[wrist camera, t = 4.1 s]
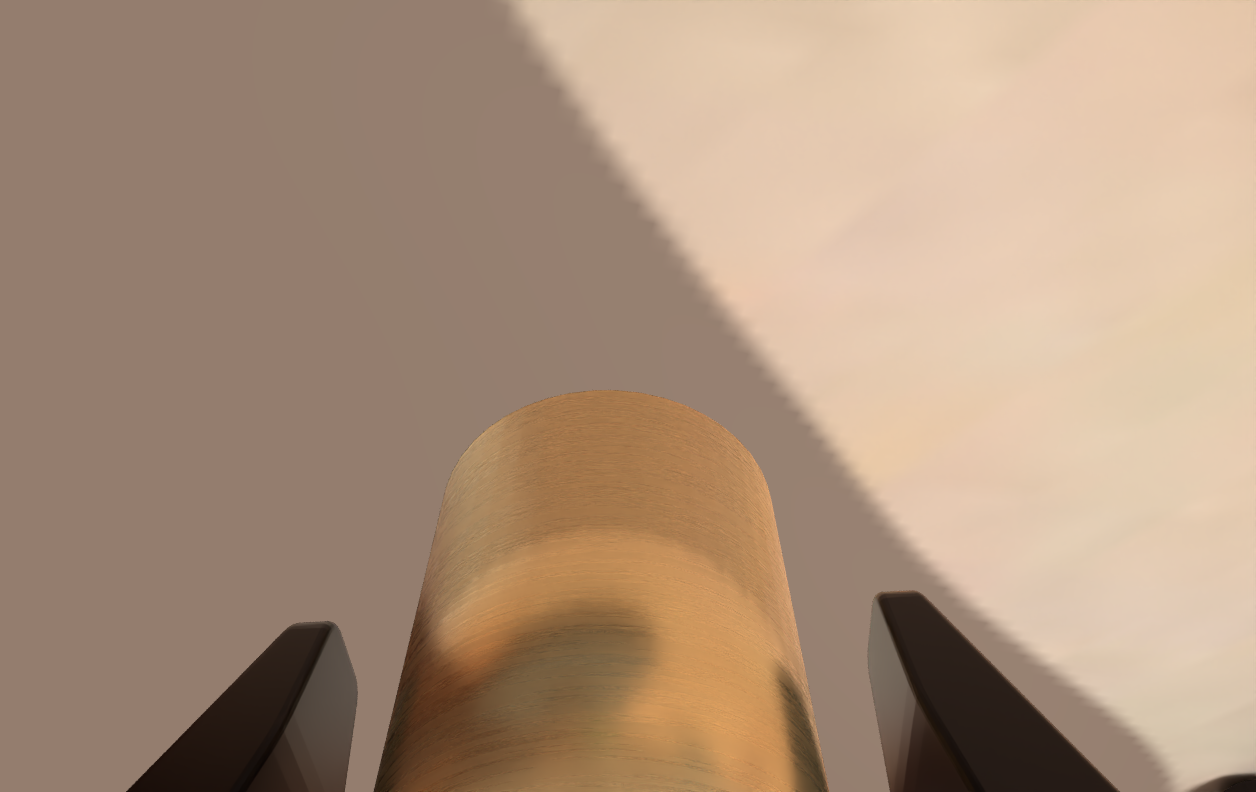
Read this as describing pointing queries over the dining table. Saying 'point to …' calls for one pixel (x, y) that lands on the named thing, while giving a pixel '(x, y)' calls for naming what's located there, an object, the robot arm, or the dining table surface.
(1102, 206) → the dining table surface
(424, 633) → the door knob
